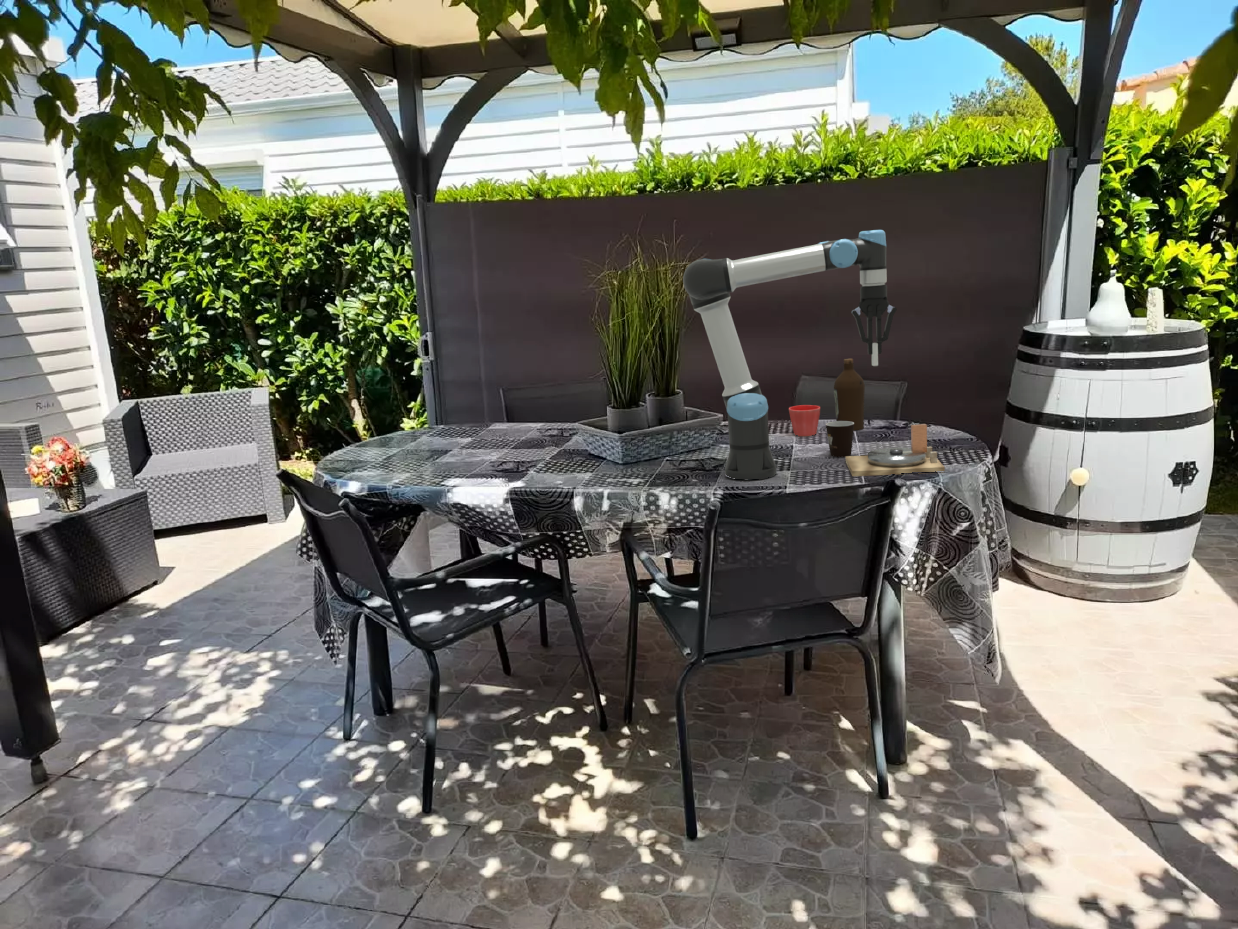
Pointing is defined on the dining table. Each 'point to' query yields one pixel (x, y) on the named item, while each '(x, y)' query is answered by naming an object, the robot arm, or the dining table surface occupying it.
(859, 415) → the olive oil
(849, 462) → the tan record player
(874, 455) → the disc
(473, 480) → the dining table surface
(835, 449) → the coffee mug
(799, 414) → the flower pot
